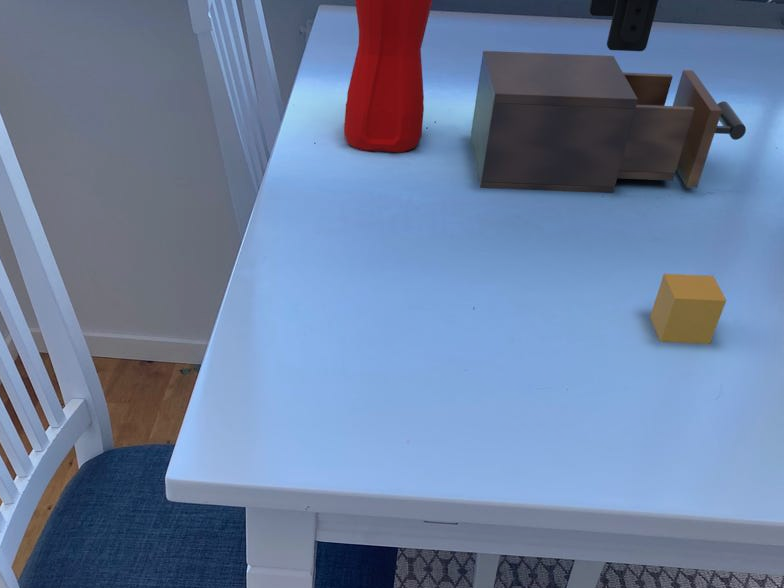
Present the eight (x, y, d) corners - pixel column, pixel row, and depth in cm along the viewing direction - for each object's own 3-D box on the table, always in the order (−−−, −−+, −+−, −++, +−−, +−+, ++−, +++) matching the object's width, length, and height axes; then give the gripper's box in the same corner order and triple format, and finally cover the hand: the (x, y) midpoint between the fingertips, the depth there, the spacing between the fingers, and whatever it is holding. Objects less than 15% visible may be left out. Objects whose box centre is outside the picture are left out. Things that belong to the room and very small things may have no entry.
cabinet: (591, 147, 114) (613, 55, 106) (612, 195, 104) (638, 99, 97) (469, 142, 114) (483, 50, 106) (479, 190, 104) (495, 93, 97)
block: (696, 321, 86) (713, 275, 83) (708, 346, 83) (726, 300, 80) (648, 319, 86) (663, 273, 83) (659, 344, 83) (675, 298, 80)
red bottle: (420, 124, 117) (448, -132, 99) (420, 158, 110) (450, -111, 91) (346, 119, 118) (360, -137, 99) (341, 154, 110) (355, -116, 92)
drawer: (707, 145, 112) (731, 71, 107) (735, 189, 104) (763, 112, 98) (557, 139, 113) (573, 65, 107) (574, 183, 104) (592, 105, 98)
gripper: (760, -220, 63) (680, 66, 76) (702, -247, 75) (640, 5, 87) (648, -224, 63) (586, 62, 76) (607, -250, 75) (559, 2, 88)
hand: (615, 31), depth 82 cm, fingers open, 9 cm apart
